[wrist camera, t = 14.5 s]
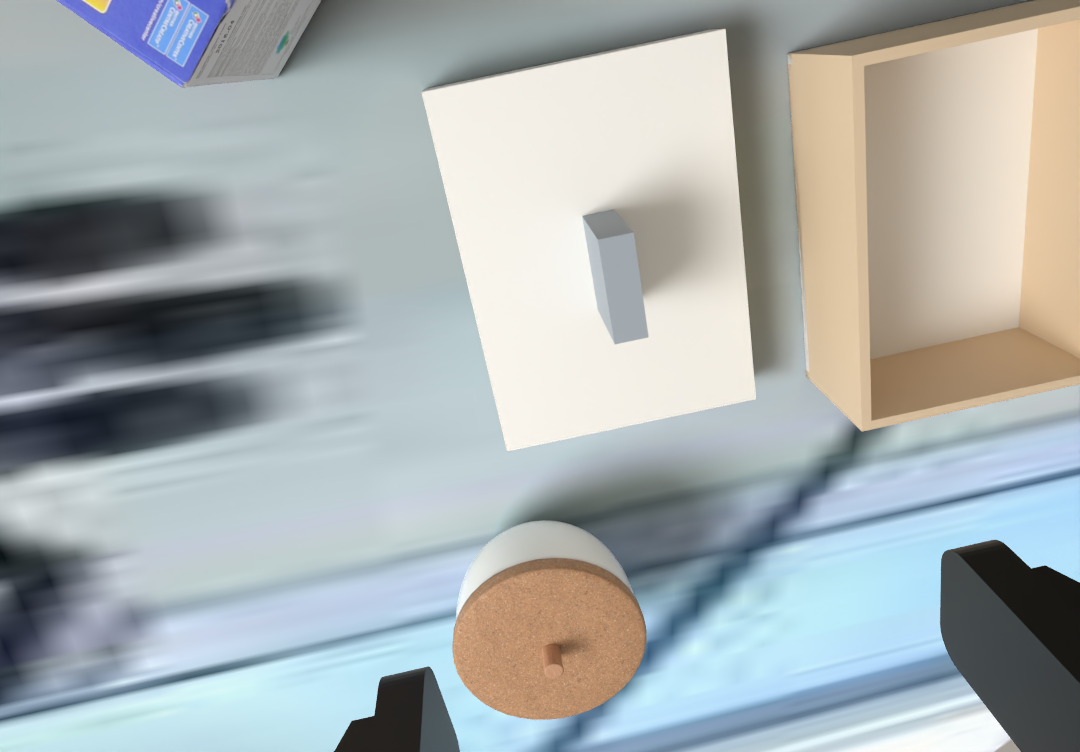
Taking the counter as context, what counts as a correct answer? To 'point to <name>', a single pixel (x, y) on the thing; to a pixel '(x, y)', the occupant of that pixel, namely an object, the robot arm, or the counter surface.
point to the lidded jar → (546, 623)
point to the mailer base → (940, 212)
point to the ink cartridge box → (203, 35)
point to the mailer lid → (601, 235)
